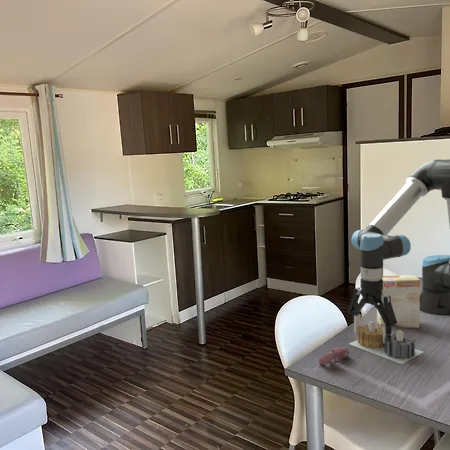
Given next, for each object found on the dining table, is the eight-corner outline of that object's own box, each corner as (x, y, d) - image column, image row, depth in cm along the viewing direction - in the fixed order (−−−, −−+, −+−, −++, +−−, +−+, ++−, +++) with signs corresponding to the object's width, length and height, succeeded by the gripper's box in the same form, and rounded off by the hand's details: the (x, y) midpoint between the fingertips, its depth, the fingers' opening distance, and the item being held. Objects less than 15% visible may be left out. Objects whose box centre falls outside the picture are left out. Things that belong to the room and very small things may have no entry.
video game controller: (325, 372, 150) (331, 358, 147) (316, 361, 154) (322, 347, 150) (347, 364, 155) (354, 350, 151) (339, 354, 158) (345, 340, 154)
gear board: (371, 337, 171) (371, 313, 169) (424, 356, 154) (424, 329, 153) (348, 347, 164) (348, 322, 162) (401, 368, 147) (402, 340, 145)
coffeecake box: (414, 321, 184) (415, 274, 181) (420, 328, 177) (420, 279, 174) (376, 321, 186) (376, 275, 183) (380, 328, 179) (380, 280, 176)
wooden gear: (369, 334, 170) (369, 322, 169) (392, 343, 162) (392, 329, 161) (352, 342, 164) (352, 329, 163) (375, 351, 156) (375, 337, 156)
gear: (395, 344, 161) (395, 330, 160) (420, 353, 153) (421, 339, 152) (378, 352, 155) (378, 338, 154) (404, 362, 148) (404, 347, 147)
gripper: (337, 273, 166) (338, 330, 170) (395, 288, 147) (394, 351, 151) (350, 269, 171) (351, 324, 175) (408, 283, 152) (407, 344, 156)
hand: (371, 337), depth 163 cm, fingers open, 11 cm apart
